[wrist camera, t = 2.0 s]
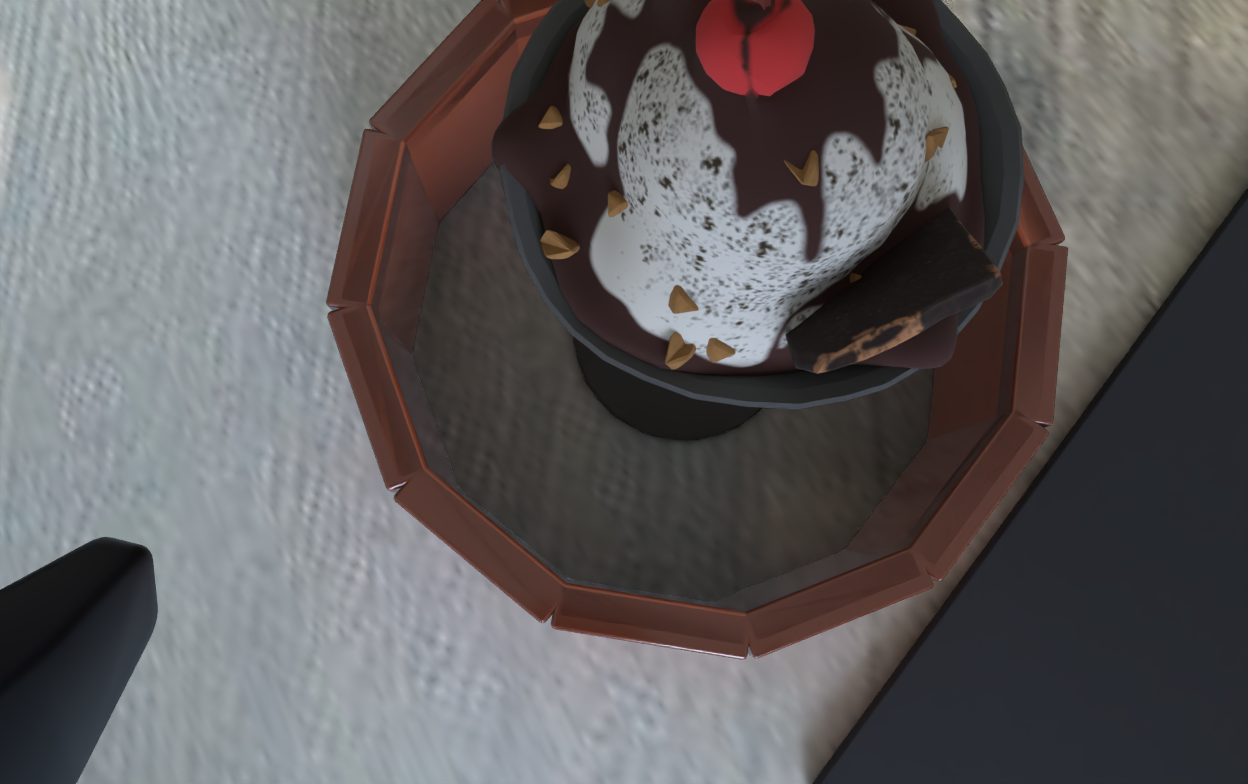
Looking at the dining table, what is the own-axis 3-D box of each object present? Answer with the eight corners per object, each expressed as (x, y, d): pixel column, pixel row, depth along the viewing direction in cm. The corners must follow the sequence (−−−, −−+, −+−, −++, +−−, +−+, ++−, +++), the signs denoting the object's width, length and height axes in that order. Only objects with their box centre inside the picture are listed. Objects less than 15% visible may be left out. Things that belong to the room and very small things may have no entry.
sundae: (547, 177, 23) (488, -509, 8) (836, 207, 23) (1283, -412, 8) (515, 462, 22) (382, 257, 7) (819, 491, 22) (1301, 349, 7)
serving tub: (730, 762, 21) (769, 815, 17) (259, 369, 22) (179, 321, 18) (1081, 294, 23) (1199, 231, 19) (637, -46, 24) (649, -183, 20)
